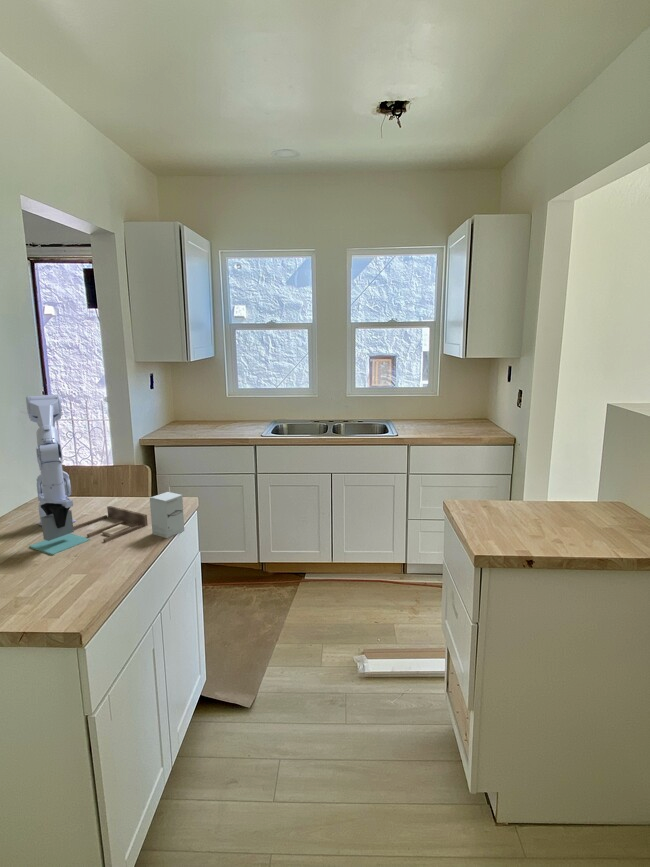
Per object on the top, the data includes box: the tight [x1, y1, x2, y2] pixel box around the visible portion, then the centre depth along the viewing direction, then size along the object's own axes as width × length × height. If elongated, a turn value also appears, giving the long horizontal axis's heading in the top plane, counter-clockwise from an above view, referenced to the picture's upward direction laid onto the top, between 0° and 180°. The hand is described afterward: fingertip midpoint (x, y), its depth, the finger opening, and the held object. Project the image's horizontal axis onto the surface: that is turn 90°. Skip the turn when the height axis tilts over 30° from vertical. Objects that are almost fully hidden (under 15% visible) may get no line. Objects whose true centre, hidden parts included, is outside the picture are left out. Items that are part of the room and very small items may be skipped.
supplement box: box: [149, 491, 185, 539], centre depth 154 cm, size 7×7×13 cm
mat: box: [28, 533, 91, 556], centre depth 148 cm, size 12×12×1 cm
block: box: [41, 509, 75, 541], centre depth 146 cm, size 2×8×7 cm, turn 151°
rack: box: [73, 505, 149, 543], centre depth 159 cm, size 19×16×4 cm
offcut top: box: [101, 524, 131, 537], centre depth 156 cm, size 4×7×1 cm, turn 152°
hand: (58, 526), depth 147 cm, fingers closed on block, 2 cm apart
